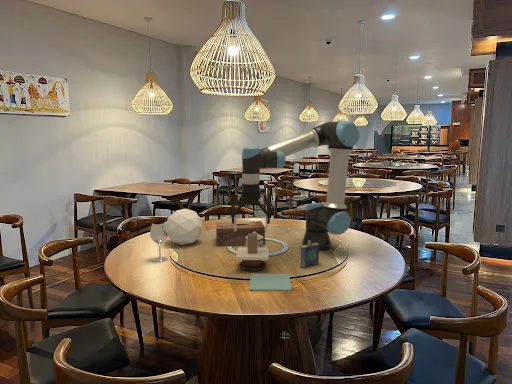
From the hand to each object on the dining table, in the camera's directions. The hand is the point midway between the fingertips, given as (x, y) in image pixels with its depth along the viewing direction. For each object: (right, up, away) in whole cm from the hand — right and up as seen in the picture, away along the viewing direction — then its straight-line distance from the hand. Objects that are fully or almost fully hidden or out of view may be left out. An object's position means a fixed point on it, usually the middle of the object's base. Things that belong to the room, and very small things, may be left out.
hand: (250, 231), depth 165 cm
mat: (+8, -19, -14) cm, 25 cm away
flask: (+26, -16, +5) cm, 31 cm away
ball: (-37, -11, +40) cm, 56 cm away
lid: (+1, -11, +2) cm, 11 cm away
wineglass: (-43, -15, +14) cm, 48 cm away
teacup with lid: (+2, -14, +22) cm, 26 cm away
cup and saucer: (+1, -17, +3) cm, 17 cm away
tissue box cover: (-6, -11, +43) cm, 44 cm away
